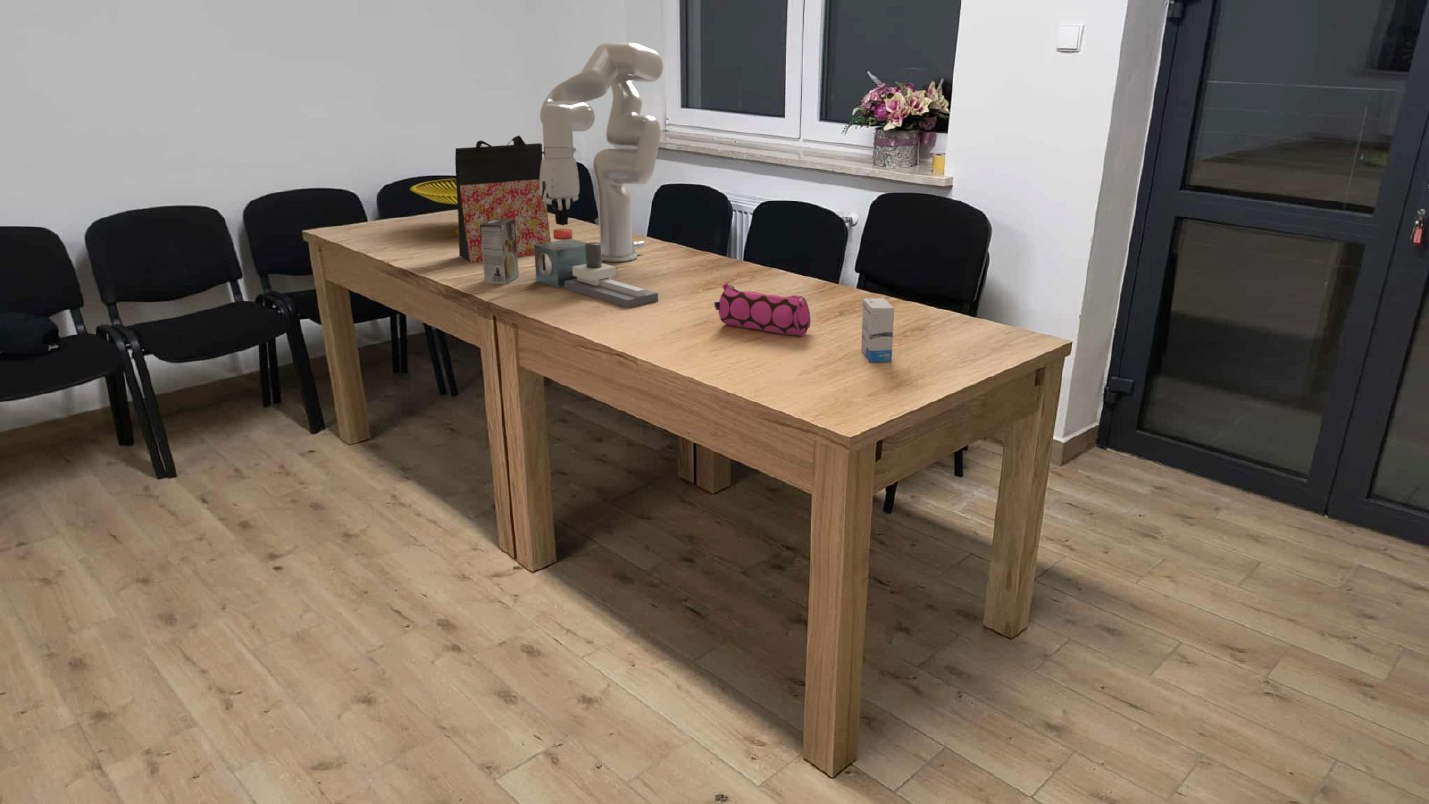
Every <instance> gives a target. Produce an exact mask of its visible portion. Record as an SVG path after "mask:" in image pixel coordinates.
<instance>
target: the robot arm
mask: <svg viewBox="0 0 1429 804" xmlns="http://www.w3.org/2000/svg"><path fill="white" fill-rule="evenodd" d="M663 69H664V63H663V60H662V57H661V55H660V54H659V52H658V51H656V50H654V49H652V48H648V47H646V46H644V45H642V44H638V43H635V42H604V43H601V44H600V45H598V46H597V47H596V48H595V50H594V51H593V53H592V54H591V56H590V57H589V59H588V61H587V62H586V64H585V65H584V66H583V68H582V70H581V71H580V72H579V73H577V74H575V75H573V76H572V77H570V78H568V79H565V80H564V81H562V82H561V83H559V84H557V85H556V86H555V87H554V88H552V89H551V91H550V92H549V93H548V95H547V97H545V100H544V101H543V103H542V105H541V108H540V113H539V114H540V115H539V116H540V122H541V124H542V137H543V140H542V141H543V152H544V154H543V156H544V157H543V158H542V161H541V166H540V180H539V188H540V196H541V197H543V203H546V204H547V205H550V206H551V207H552V209H553V210H554V214H555V215H554V218H555V219H554V220H555V224H556V225H560V226H566V225H568V224H569V211H568V210H569V209H570V206H571V205H572V203H573V202H576V201H578V200H579V194H580V177H579V176H580V175H579V169H578V165H577V161H576V158H574V154H576V153H577V149H576V147H574V138H573V132H586V131H588V130H589V129H591V128H592V127H593V125H594V124H595V123H594V122H595V119H596V118H595V117H596V115H595V111H594V109H593V107H592V106H591V105H590V104H588V103H586V102H590V101H593V100H596V99H599V98H601V97H603V96H605V94H606V93H607V92H608V90H609V89H610V88H611V91H612V103H611V107H610V112H609V118H608V122H607V127H606V134H605V136H606V141H607V143H608V144H609V145H610V146H613V147H615V148H605V149H602V150H600V151H598V152H597V153H596V154H595V156H594V158H593V162H592V163H593V165H592V167H593V171H594V176H595V181H596V187H597V188H596V189H597V199H598V200H597V202H598V225H599V226H598V228H599V243H601V259H602V262H612V263H613V262H615V263H617V262H627V261H632V260H633V261H634V260H636V259H637V258H638V252H636V250H637V249H640V248H644V247H645V242H644V241H642V240H640V241H635V240H633V238H632V237H633V236H632V235H633V234H632V233H633V231H632V230H633V229H632V199H631V194H630V192H629V190H628V189H627V187H626V185H646V184H647V183H649V182H650V181H651V179H652V177H653V174H654V170H655V165H656V161H657V156H658V151H659V149H660V148H659V147H660V143H661V142H660V141H661V136H662V135H661V133H662V132H661V126H660V123H659V121H658V119H657V118H656V117H655V116H652V115H648V114H641V110H642V106H643V100H642V98H641V95H640V93H639V91H638V90H637V88H636V87H635V86H634V84H633V82H638V83H639V82H641V83H642V82H645V83H653V82H656V81H658V80H659V79H660V78H661V76H662V74H663ZM634 149H636V150H634ZM625 184H626V185H625Z"/></svg>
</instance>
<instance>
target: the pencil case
mask: <svg viewBox="0 0 1429 804" xmlns="http://www.w3.org/2000/svg"><path fill="white" fill-rule="evenodd" d="M722 289H723V292H722V293H721V295H720V297H719V301H714V302H713V304H714V308H715V310H716V311H718V316H719V319H720V320H721V322H722V323H723V324H725V325H728V326H731V327H738V326H740V327H739V328H743V327H745V328H744V329H750V328H751V329H752V330H753V329H755V330H759V331H764V332H768V333H775V334H780V335H787V336H788V335H789V336H799V337H803V336H805V335H806V334H807V332H808V330H809V329H810V326H811V314H810V308H809V304H808V302H807V300H806V298H805V297H804V296H801V295H791V296H781V295H779V296H778V295H773V294H765V293H761V292H755V291H747V290H746V291H745V290H742V289H739V288H737V287H735V286H734V285H732V284H729V282H726V283H723V284H722Z"/></svg>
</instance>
